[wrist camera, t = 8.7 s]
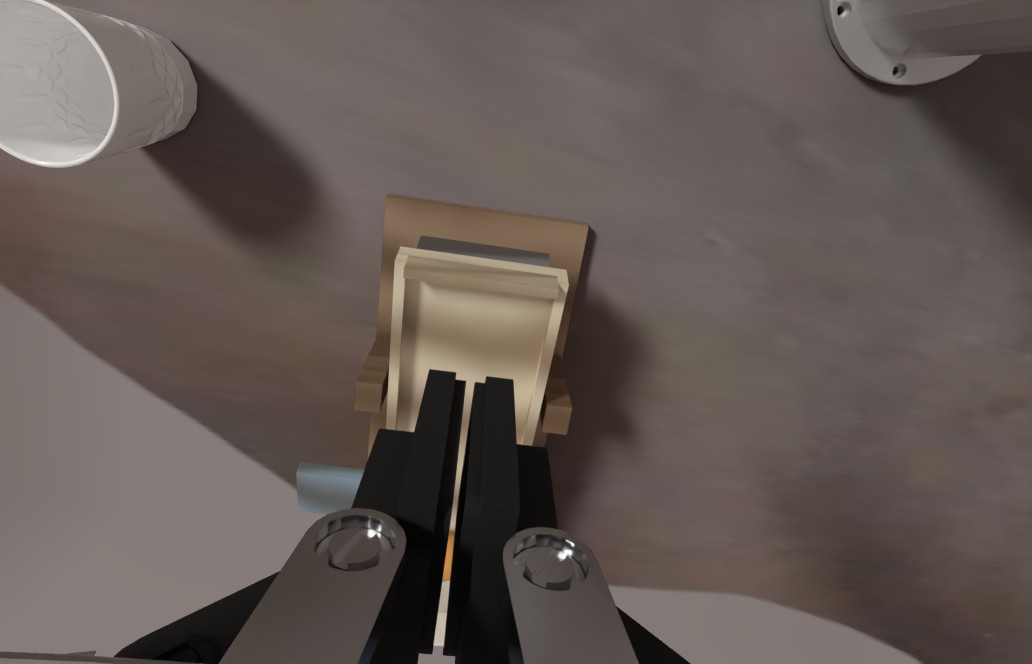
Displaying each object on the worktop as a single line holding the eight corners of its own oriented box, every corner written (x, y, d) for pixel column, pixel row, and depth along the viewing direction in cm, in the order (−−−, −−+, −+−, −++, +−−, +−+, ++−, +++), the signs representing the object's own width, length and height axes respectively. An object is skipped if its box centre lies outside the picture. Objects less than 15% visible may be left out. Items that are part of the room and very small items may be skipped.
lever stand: (388, 194, 42) (361, 221, 33) (586, 223, 43) (608, 256, 34) (368, 470, 50) (343, 546, 42) (534, 488, 51) (541, 566, 43)
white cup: (223, 55, 38) (135, 46, 29) (189, 169, 41) (98, 194, 31) (95, -10, 37) (-41, -42, 27) (68, 113, 39) (-65, 122, 30)
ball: (455, 531, 48) (448, 585, 47) (477, 533, 52) (471, 584, 50) (412, 527, 50) (405, 579, 49) (437, 530, 53) (430, 578, 52)
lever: (304, 210, 36) (273, 250, 31) (566, 248, 38) (573, 291, 33) (313, 471, 48) (291, 528, 43) (512, 492, 49) (512, 550, 44)
